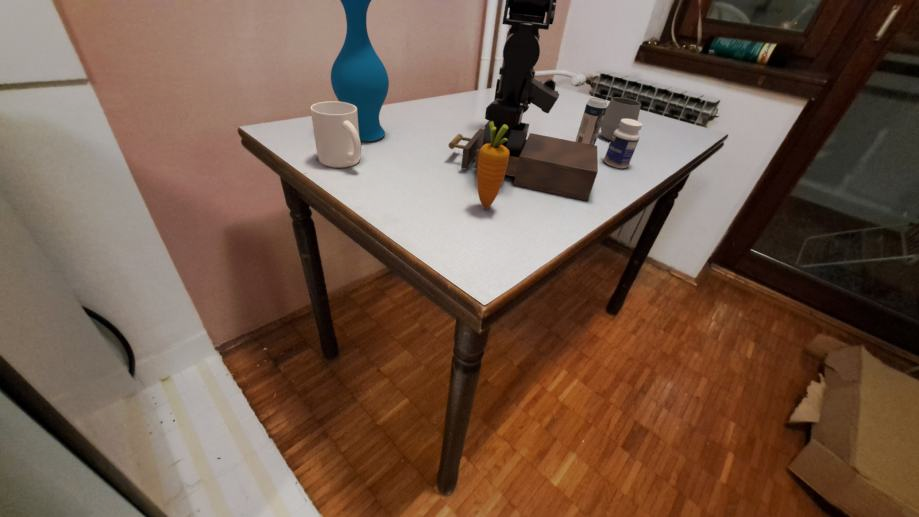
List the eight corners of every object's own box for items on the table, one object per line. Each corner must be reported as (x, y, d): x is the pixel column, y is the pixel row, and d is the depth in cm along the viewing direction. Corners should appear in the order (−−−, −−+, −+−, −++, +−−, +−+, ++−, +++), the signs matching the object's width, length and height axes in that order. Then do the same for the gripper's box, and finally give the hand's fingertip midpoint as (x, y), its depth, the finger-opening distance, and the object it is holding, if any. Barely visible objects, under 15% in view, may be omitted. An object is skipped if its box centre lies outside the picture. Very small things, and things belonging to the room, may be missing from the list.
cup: (624, 147, 97) (639, 108, 91) (591, 137, 101) (603, 99, 95) (634, 139, 103) (648, 102, 97) (602, 130, 107) (614, 94, 101)
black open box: (481, 154, 75) (485, 124, 72) (487, 144, 80) (491, 116, 76) (519, 161, 74) (525, 132, 70) (523, 151, 79) (529, 123, 75)
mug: (379, 169, 72) (376, 116, 66) (341, 179, 67) (334, 123, 61) (347, 149, 78) (342, 99, 72) (310, 157, 74) (302, 104, 67)
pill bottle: (598, 160, 88) (613, 118, 82) (616, 158, 90) (631, 117, 84) (615, 170, 84) (631, 126, 78) (633, 167, 86) (650, 125, 80)
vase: (396, 130, 90) (395, -8, 73) (379, 148, 81) (372, -7, 63) (350, 123, 91) (338, -16, 74) (327, 140, 82) (307, -16, 64)
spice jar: (593, 155, 90) (609, 104, 83) (573, 151, 91) (588, 101, 83) (591, 148, 94) (607, 99, 87) (572, 145, 94) (587, 96, 87)
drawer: (441, 163, 75) (443, 143, 72) (460, 143, 85) (462, 124, 83) (526, 182, 72) (530, 161, 69) (534, 158, 82) (539, 139, 80)
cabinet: (513, 185, 73) (519, 155, 69) (524, 159, 84) (529, 132, 80) (587, 201, 70) (597, 171, 66) (588, 172, 81) (597, 145, 78)
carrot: (470, 201, 66) (481, 115, 56) (496, 202, 66) (512, 118, 57) (473, 215, 62) (485, 126, 53) (501, 216, 62) (518, 128, 53)
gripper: (558, 79, 58) (536, 170, 67) (565, 61, 72) (546, 139, 82) (490, 68, 60) (478, 158, 69) (511, 53, 74) (498, 129, 84)
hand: (504, 145), depth 76 cm, fingers closed on black open box, 6 cm apart
